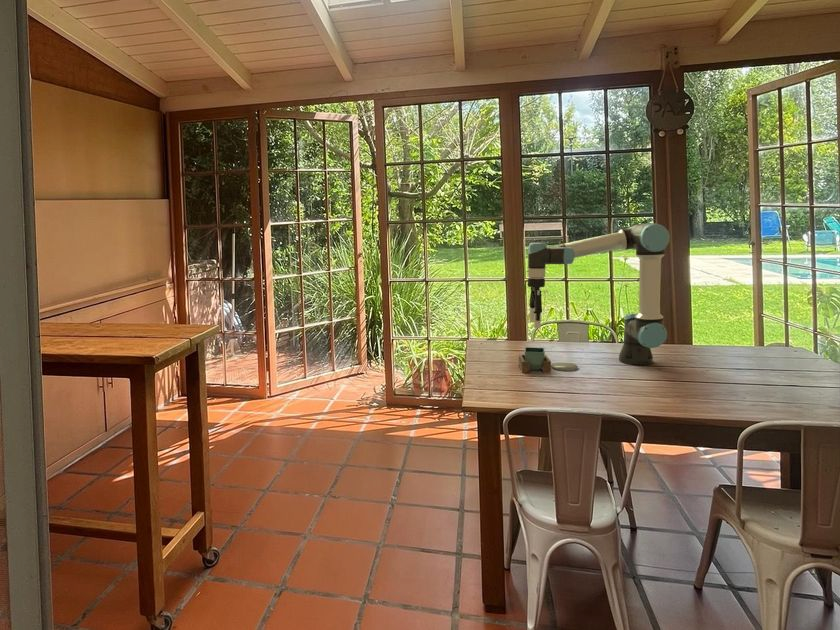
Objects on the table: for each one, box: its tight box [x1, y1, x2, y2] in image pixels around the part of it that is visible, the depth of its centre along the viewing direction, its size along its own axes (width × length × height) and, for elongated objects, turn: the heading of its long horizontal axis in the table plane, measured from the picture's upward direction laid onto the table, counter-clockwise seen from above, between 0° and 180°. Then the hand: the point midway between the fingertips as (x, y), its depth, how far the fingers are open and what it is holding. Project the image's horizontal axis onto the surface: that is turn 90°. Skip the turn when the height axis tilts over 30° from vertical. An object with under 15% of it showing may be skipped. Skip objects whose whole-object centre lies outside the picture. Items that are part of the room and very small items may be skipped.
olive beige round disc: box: [551, 362, 579, 372], centre depth 244 cm, size 12×12×1 cm
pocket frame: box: [518, 354, 552, 374], centre depth 242 cm, size 13×13×5 cm
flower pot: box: [524, 346, 546, 371], centre depth 242 cm, size 9×9×9 cm
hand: (534, 325), depth 239 cm, fingers open, 13 cm apart
